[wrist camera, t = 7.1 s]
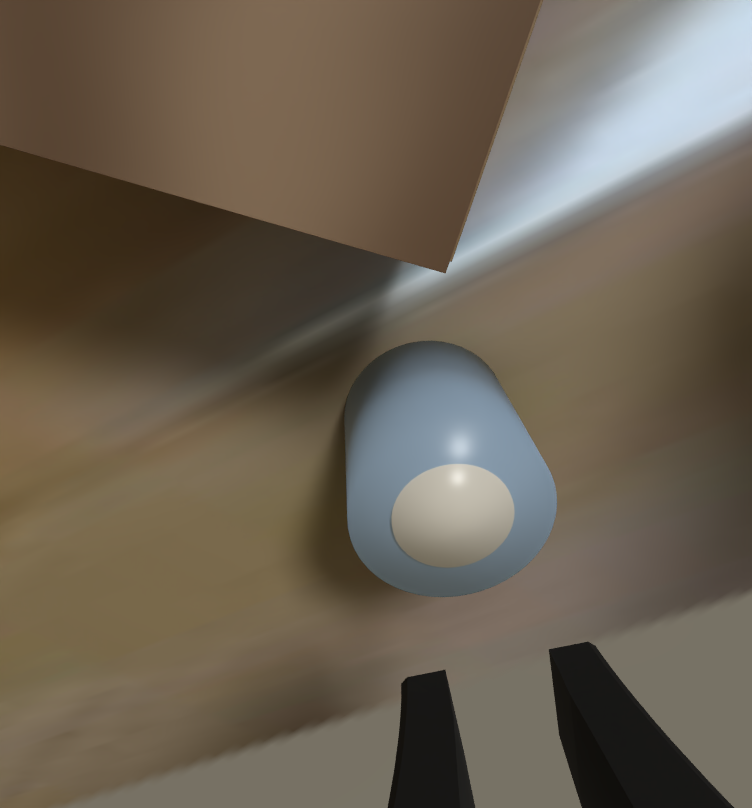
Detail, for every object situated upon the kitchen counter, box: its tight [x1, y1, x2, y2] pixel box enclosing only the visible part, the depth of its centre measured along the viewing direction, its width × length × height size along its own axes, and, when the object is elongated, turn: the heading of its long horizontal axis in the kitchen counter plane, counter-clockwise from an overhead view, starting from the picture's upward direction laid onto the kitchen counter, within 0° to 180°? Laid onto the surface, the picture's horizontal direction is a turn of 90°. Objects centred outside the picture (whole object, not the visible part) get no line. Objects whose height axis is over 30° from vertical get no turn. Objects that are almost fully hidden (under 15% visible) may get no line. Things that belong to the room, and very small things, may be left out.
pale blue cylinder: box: [344, 341, 557, 597], centre depth 17 cm, size 5×5×5 cm
